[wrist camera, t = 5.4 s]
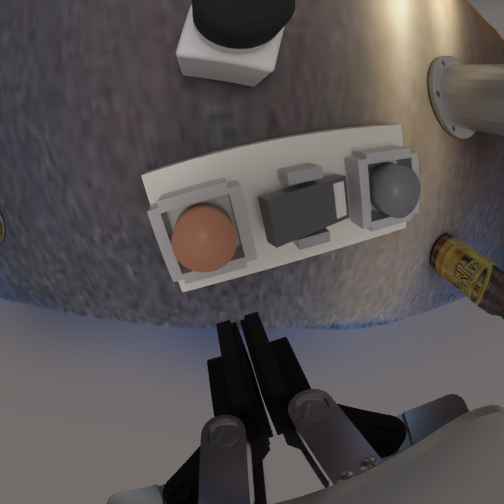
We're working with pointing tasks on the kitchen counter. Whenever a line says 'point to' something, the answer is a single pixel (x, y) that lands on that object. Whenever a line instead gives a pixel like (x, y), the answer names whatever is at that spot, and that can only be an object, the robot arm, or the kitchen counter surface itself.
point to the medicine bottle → (233, 39)
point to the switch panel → (269, 180)
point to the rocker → (304, 208)
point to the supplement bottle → (1, 228)
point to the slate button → (394, 189)
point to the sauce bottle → (470, 273)
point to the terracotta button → (204, 238)
